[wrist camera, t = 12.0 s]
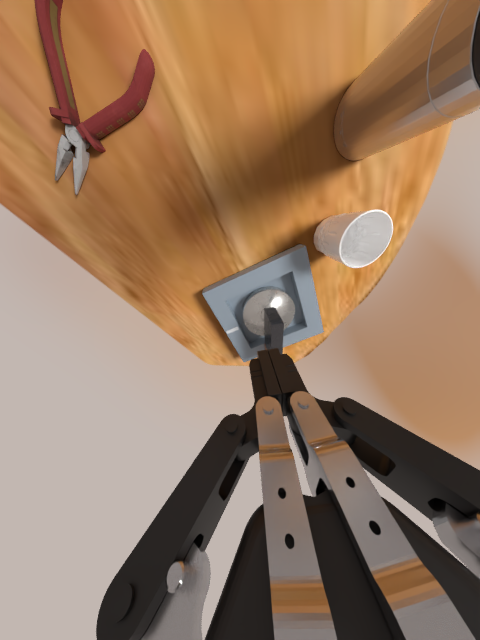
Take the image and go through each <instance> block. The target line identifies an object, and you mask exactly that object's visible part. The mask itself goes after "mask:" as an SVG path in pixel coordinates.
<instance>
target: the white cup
mask: <svg viewBox="0 0 480 640" xmlns="http://www.w3.org/2000/svg"><path fill="white" fill-rule="evenodd" d="M392 233H393V223H392V219H391V217H390V216H389V215H388V214H387V213H386V212H384V211H382V210H368V211H360V212H351V213H345V214H340V215H334V216H330V217H328V218H326V219H324V220H323V221H322V222H321V223H320V224H319V226H318V227H317V229H316V231H315V234H314V245H315V247H316V249H317V250H318V251H320V252H321V253H323V254H325V255H326V256H328V257H330V258H332V259H334V260H336V261H338V262H340V263H342V264H344V265H346V266H348V267H351V268H360V267H364V266H366V265H369V264H370V263H372V262H374V261H375V260H376V259H377V258H378V257H379V256H380V255H381V254H382V253H383V252H384V251H385V249H386V248H387V246H388V244H389V242H390V240H391V237H392Z"/></svg>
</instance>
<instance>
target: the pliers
mask: <svg viewBox="0 0 480 640" xmlns="http://www.w3.org/2000/svg"><path fill="white" fill-rule="evenodd" d="M62 3H63V0H35V8H36V14H37V20H38V25H39V30H40V34H41V38H42V42H43V45H44V49H45V53H46V57H47V61H48V64H49V68H50V72H51V76H52V80H53V84H54V87H55V91H56V95H57V99H58V103H59V106H60V109H57V108H53V107H49V109H50V113H51V115H52V116H53V117H55V118H57V119H58V120H60V121H62V123H64V124H65V133H66V136H65V135H63V134H62V136H61V138H60V141H59V144H58V151H57V162H56V173H55V180H56V181H58V179H59V178H60V176H61V175H62V173H63V172H64V171H65V169H66V168H67V166H68V165H69V163H70V162H71V160H72V158H73V170H74V184H75V194H76V195H78V192H79V190H80V187H81V184H82V182H83V179H84V176H85V174H86V171H87V168H88V163H89V155H90V153H88V152H86V149H88V148H89V146H90V145H92V146H93V147H94V148H95V149H96V150H97V151H99V152H101V153H103V152H104V151H106V150H105V149H104V147H103V146H102V144H101V142H100V141H99V140H100V139H101V138H103V137H104V136H106V135H107V134H109V133H110V132H112V131H114V130H115V129H117V128H118V127H120V126H121V125H123V124H125V123H126V122H128V121H129V120H131V119H132V118H134V117H135V116H136V115H137V114H138V113H139V112H140V111H141V110H142V109H143V108H144V106H145V104H146V102H147V99H148V95H149V92H150V89H151V85H152V82H153V78H154V74H155V69H154V63H153V61H152V58H151V57H150V55H149V53H148V52H147V51H146V50H145V49H143V50H142V51H141V53H140V55H139V59H138V62H137V66H136V70H135V73H134V77H133V81H132V83H131V85H130V87H129V89H128V90H127V91H126V93H125V94H124V95H123V96H121V97H120V98H119V99H117V100H116V101H114V102H113V103H111V104H110V105H108V106H107V107H105V108H104V109H102V110H101V111H99V112H98V113H96V114H95V115H93V116H92V117H90V118H89V119H87V120H86V121H84V122H83V123H82V122H81V123H80V120H79V115H78V111H77V106H76V102H75V98H74V93H73V89H72V84H71V80H70V76H69V71H68V67H67V63H66V58H65V54H64V49H63V44H62V38H61V30H60V15H61V8H62ZM72 145H74V146H75V147H76V148H75V157H73V156H74V154H73V152H72V150H71V146H72Z"/></svg>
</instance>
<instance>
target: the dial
mask: <svg viewBox="0 0 480 640" xmlns="http://www.w3.org/2000/svg"><path fill="white" fill-rule="evenodd" d="M242 315H243V320H244V324H245V326H246V327H247V328H248V329H249V330H250V331H251V332H252V333H254V334H257V335H260V336H265V350H267V349H273V348H278V349H279V352H280V354H281V355H282V351H283V333H284V330H285V329H286V328H287V327H288V326H289V325H290V323H291V322H292V320H293V318H294V315H295V305H294V302H293V300H292V299H291V298H290V296H289V295H288V294H287V293H286V292H285V291H284V290H282V289H280V288H278V287H274V286H266V287H262V288H259V289H257V290H255V291H253V292H252V293H251V294H250V295H249V296H248V297H247V298H246V300H245V301H244V304H243V307H242Z"/></svg>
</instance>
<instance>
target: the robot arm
mask: <svg viewBox="0 0 480 640" xmlns="http://www.w3.org/2000/svg"><path fill="white" fill-rule="evenodd" d="M478 109H480V0H431V1H430V2H429V3H428V4H427V6H426V7H425V8H424V9H423V10H422V11H421V12H420V13H419V14H418V15H417V16H416V17H415V18H414V19H413V20H412V21H411V22H410V23H409V24H408V25H407V26H406V27H405V29H404V30H403V31H402V32H401V33H400V34H399V35H398V36H397V37H396V38H395V39H394V40H393V41H392V42H391V43H390V44H389V45H388V46H387V47H386V48H385V49H384V50H383V52H382V53H381V54H380V55H379V56H378V57H377V58H376V59H375V60H374V61H373V62H372V63H371V64H370V65H369V66H368V67H367V68H366V69H365V70H364V71H363V72H362V73H361V74H360V75H359V76H358V78H357V79H356V80H355V81H354V82H353V83H352V84H351V85H350V87H349V88H348V89H347V91H346V92H345V94H344V96H343V97H342V99H341V102H340V104H339V107H338V109H337V113H336V117H335V123H334V139H335V144H336V147H337V149H338V151H339V153H340V154H341V155H342V156H343V157H344V158H346V159H348V160H354V161H357V160H361V159H364V158H366V157H368V156H371V155H373V154H375V153H378V152H380V151H383V150H385V149H388V148H390V147H392V146H395V145H397V144H399V143H402V142H404V141H406V140H409V139H411V138H413V137H416V136H418V135H420V134H423V133H425V132H428V131H430V130H432V129H435V128H437V127H439V126H442V125H444V124H446V123H449V122H451V121H453V120H456V119H458V118H460V117H463V116H465V115H467V114H470V113H472V112H474V111H476V110H478ZM257 357H258V358H257V359H251V362H250V365H249V367H250V374H251V380H252V386H253V392H254V398H255V403H254V406H253V407H252V409H251V410H250V411H249V412H247V413H245V414H243V415H241V416H239V415H236V414H230V415H228V416H226V417H225V418H224V419H223V420H222V421H221V422H220V424H219V425H218V427H217V428H216V430H215V431H214V433H213V434H212V436H211V437H210V439H209V440H208V441H207V443H206V444H205V446H204V447H203V449H202V450H201V452H200V453H199V455H198V456H197V457H196V459H195V460H194V462H193V464H192V465H191V467H190V468H189V469H188V471H187V472H186V474H185V476H183V478H182V480H181V481H180V482H179V484H178V485H177V487H176V488H175V490H174V491H173V493H172V494H171V496H170V497H169V498H168V500H167V501H166V503H165V504H164V506H163V507H162V509H161V510H160V512H159V513H158V514H157V516H156V518H155V519H154V520H153V522H152V523H151V525H150V526H149V528H148V529H147V531H146V532H145V534H144V535H143V536H142V538H141V539H140V541H139V542H138V544H137V545H136V547H135V548H134V550H133V551H132V553H131V554H130V555H129V557H128V558H127V560H126V561H125V563H124V564H123V566H122V567H121V569H120V570H119V572H118V573H117V574H116V576H115V577H114V579H113V581H112V582H111V584H110V586H109V588H108V589H107V591H106V594H105V596H104V599H103V601H102V604H101V607H100V610H99V614H98V620H97V628H96V634H97V635H96V636H97V640H202V633H201V620H202V619H201V618H202V610H203V605H204V601H205V598H206V595H207V592H208V588H209V584H210V562H209V559H208V556H207V554H206V552H205V549H206V547H207V545H208V543H209V541H210V539H211V537H212V535H213V533H214V531H215V529H216V527H217V524H218V522H219V520H220V518H221V516H222V514H223V512H224V510H225V508H226V506H227V504H228V501H229V500H230V497H231V495H232V493H233V491H234V489H235V487H236V485H237V483H238V481H239V479H240V476H241V475H242V473H243V470H244V468H245V466H246V464H247V462H248V460H249V458H250V457H251V456H252V455H254V454H255V453H257V452H259V458H260V470H261V481H262V493H263V504H262V505H261V506H260V507H259V508H258V509H257V510H256V511H255V512H254V513H253V515H252V516H251V518H250V519H249V522H248V523H247V525H246V528H245V530H244V533H243V536H242V538H241V541H240V544H239V547H238V550H237V553H236V555H235V558H234V561H233V563H232V566H231V569H230V572H229V574H228V577H227V580H226V583H225V585H224V588H223V591H222V594H221V596H220V599H219V602H218V605H217V608H216V610H215V613H214V616H213V618H212V621H211V624H210V627H209V630H208V632H207V635H206V638H205V640H480V470H478V469H476V468H474V467H472V466H471V465H469V464H467V463H465V462H463V461H462V460H460V459H458V458H456V457H454V456H453V455H451V454H449V453H447V452H446V451H444V450H442V449H440V448H438V447H437V446H435V445H433V444H431V443H429V442H428V441H426V440H424V439H422V438H421V437H419V436H417V435H415V434H413V433H412V432H410V431H408V430H406V429H404V428H403V427H401V426H399V425H397V424H396V423H394V422H392V421H390V420H388V419H387V418H385V417H383V416H381V415H379V414H378V413H376V412H374V411H372V410H370V409H369V408H367V407H365V406H363V405H361V404H360V403H358V402H356V401H354V400H352V399H350V398H345V397H341V398H338V399H337V400H336V401H335V402H329V401H323V400H319V399H317V398H315V397H313V396H312V395H311V394H310V393H308V391H307V389H306V387H305V385H304V383H303V381H302V379H301V377H300V375H299V373H298V371H297V369H296V367H295V365H294V362H293V360H292V358H290V357H289V356H288V355H287V354H282V355H281V354H280V352H279V349H278V348H273V349H267V350H260V351H257ZM283 416H287V417H288V420H289V428H290V432H291V434H292V437H293V440H294V442H295V445H296V447H297V450H298V452H299V455H300V458H301V460H302V463H303V466H304V469H305V473H306V478H307V481H308V484H309V487H310V490H311V493H312V495H313V497H311V496H306V495H302V491H301V487H300V482H299V478H298V473H297V469H296V464H295V460H294V456H293V453H292V450H291V449H290V446H289V441H288V436H287V432H286V427H285V423H284V418H283ZM362 467H363V468H364V469H365V470H367V471H368V472H370V473H371V474H372V475H373V476H375V477H376V478H377V479H378V480H380V481H381V482H382V483H384V484H385V485H386V486H387V487H389V488H390V489H391V490H393V491H394V492H395V493H397V494H398V495H399V496H400V497H402V498H403V499H404V500H406V501H407V502H408V503H410V504H411V505H412V506H413V507H415V508H416V509H417V510H419V511H420V512H421V513H422V514H424V515H425V516H426V517H428V518H429V519H430V520H431V521H433V524H434V527H435V529H436V531H437V533H438V536H439V538H440V540H441V541H442V543H443V544H444V545H445V546H446V547H447V548H449V549H450V551H451V552H452V553H454V555H455V556H457V557H458V558H459V559H460V560H461V561H462V562H463V563H464V564H465V565H466V567H465V566H464V565H463V564H462V563H461V562H459V561H458V560H457V559H456V558H455V557H454V556H453V555H451V554H450V553H449V552H448V551H447V550H445V549H444V548H443V547H442V546H441V545H440V544H438V543H437V542H436V541H435V540H434V539H433V538H431V537H430V536H429V535H428V534H427V533H425V532H424V531H423V530H422V529H421V528H420V527H419V526H417V525H416V524H415V523H414V522H412V521H411V520H410V519H409V518H408V517H407V516H406V515H404V514H403V513H402V512H401V511H400V510H399V509H397V508H396V507H395V506H394V505H392V504H391V503H390V502H388V501H387V500H386V499H384V498H382V497H381V496H380V495H379V493H378V492H377V490H376V489H375V487H374V485H373V484H372V482H371V481H370V479H369V477H368V476H367V474H366V472H365V471H364V469H363V468H362ZM467 567H468V568H467Z"/></svg>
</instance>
